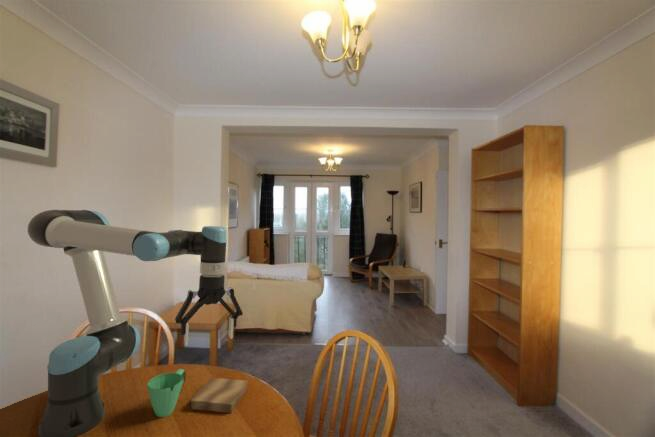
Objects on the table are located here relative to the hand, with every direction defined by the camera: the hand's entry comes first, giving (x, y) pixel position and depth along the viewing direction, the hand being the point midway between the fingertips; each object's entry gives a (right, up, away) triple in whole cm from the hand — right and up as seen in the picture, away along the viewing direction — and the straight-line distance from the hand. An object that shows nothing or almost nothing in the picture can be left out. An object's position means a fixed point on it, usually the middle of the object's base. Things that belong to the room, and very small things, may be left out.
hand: (209, 340), depth 100 cm
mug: (-13, -22, 0) cm, 25 cm away
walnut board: (+2, -22, +6) cm, 23 cm away
